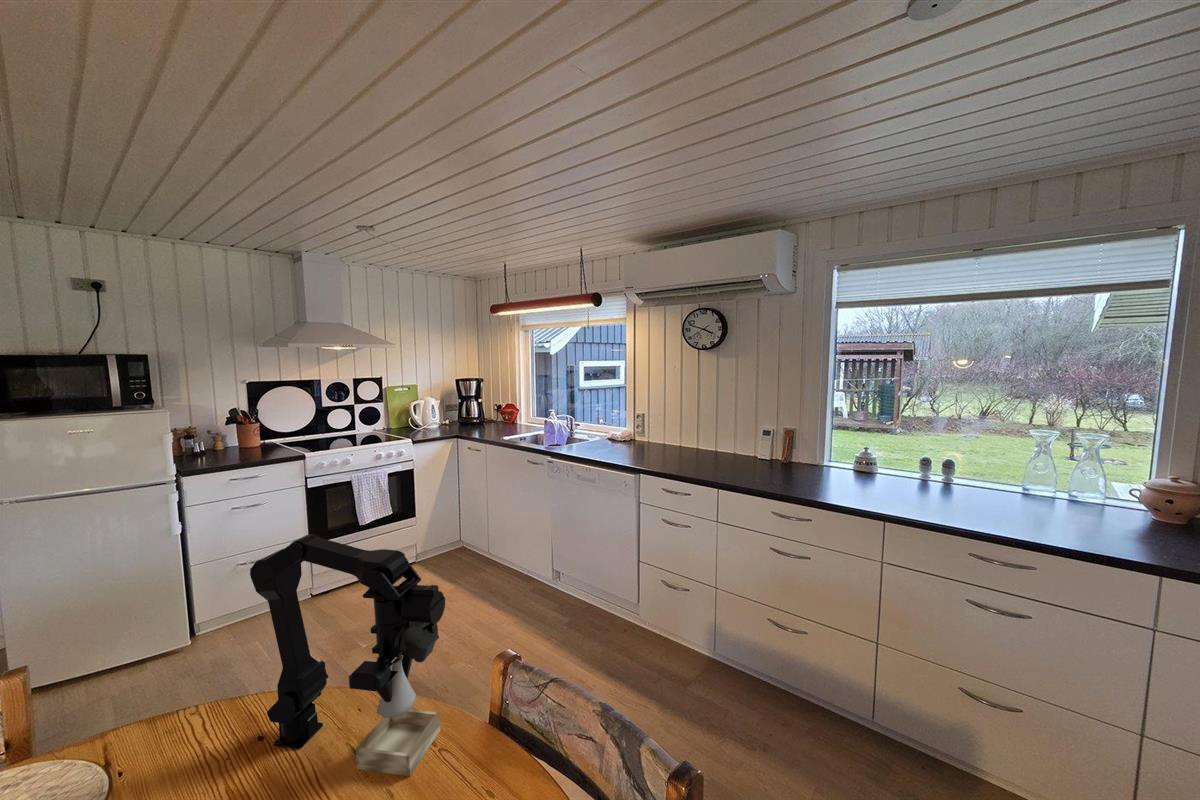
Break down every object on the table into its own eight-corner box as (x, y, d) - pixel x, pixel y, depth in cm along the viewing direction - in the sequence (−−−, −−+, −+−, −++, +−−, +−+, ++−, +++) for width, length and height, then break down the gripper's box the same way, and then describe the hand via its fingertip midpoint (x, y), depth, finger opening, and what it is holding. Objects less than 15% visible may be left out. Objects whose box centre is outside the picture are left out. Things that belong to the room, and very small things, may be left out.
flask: (402, 721, 91) (398, 672, 90) (369, 716, 93) (365, 668, 92) (423, 695, 98) (420, 649, 97) (392, 691, 100) (389, 645, 99)
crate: (357, 768, 92) (355, 749, 91) (392, 724, 103) (390, 707, 102) (410, 776, 90) (408, 756, 89) (440, 730, 101) (439, 712, 100)
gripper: (400, 650, 83) (406, 733, 85) (451, 596, 101) (455, 665, 103) (343, 644, 85) (350, 726, 87) (404, 593, 103) (408, 661, 105)
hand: (396, 692), depth 95 cm, fingers closed on flask, 5 cm apart
